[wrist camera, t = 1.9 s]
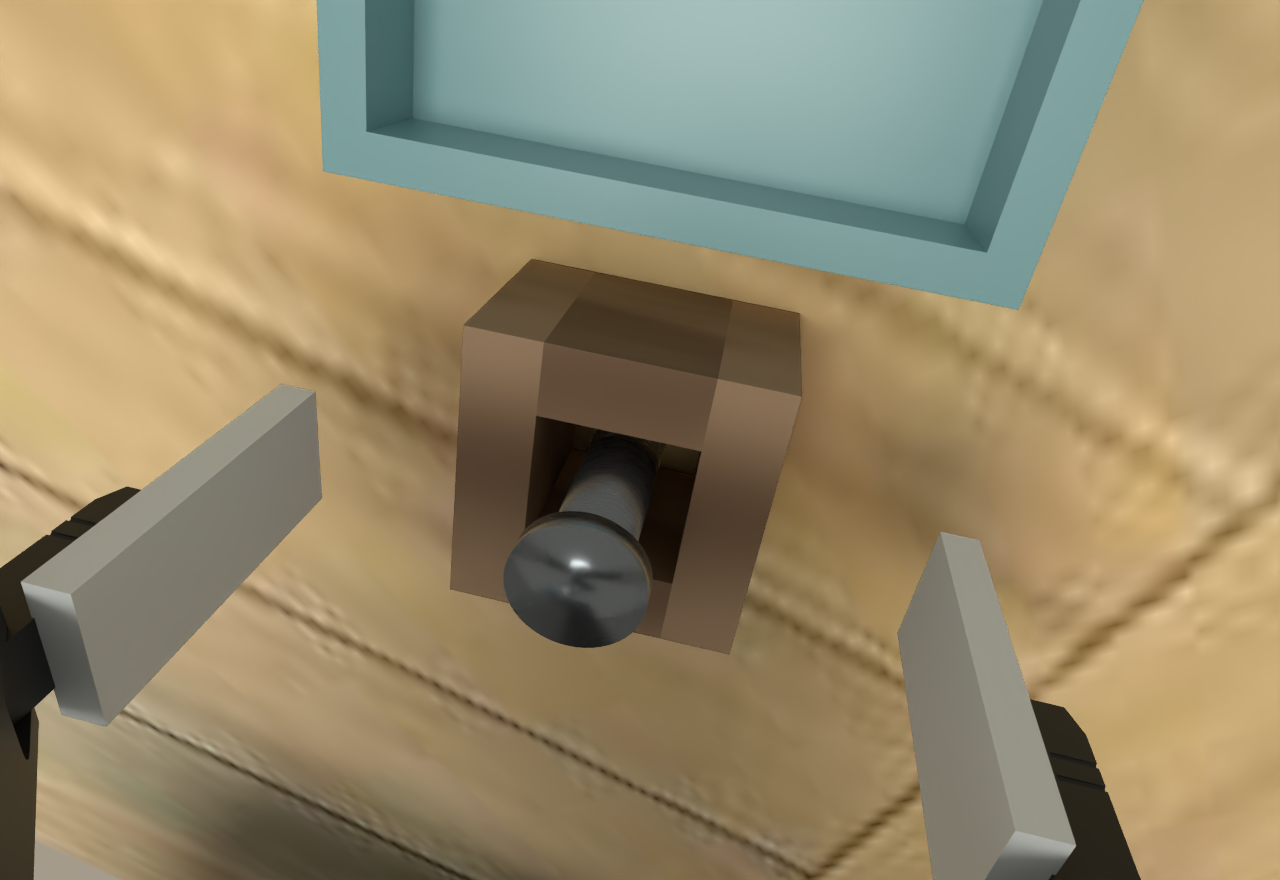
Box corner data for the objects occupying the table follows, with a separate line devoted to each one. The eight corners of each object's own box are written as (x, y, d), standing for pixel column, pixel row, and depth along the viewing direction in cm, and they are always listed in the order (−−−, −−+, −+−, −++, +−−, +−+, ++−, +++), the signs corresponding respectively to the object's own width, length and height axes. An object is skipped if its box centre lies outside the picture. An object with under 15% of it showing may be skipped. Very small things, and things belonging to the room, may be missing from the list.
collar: (740, 536, 24) (729, 654, 20) (510, 485, 24) (450, 589, 20) (799, 313, 20) (802, 396, 16) (531, 259, 21) (463, 325, 17)
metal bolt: (683, 460, 23) (635, 661, 16) (587, 439, 23) (498, 629, 16) (702, 371, 22) (659, 548, 15) (600, 350, 22) (508, 514, 15)
